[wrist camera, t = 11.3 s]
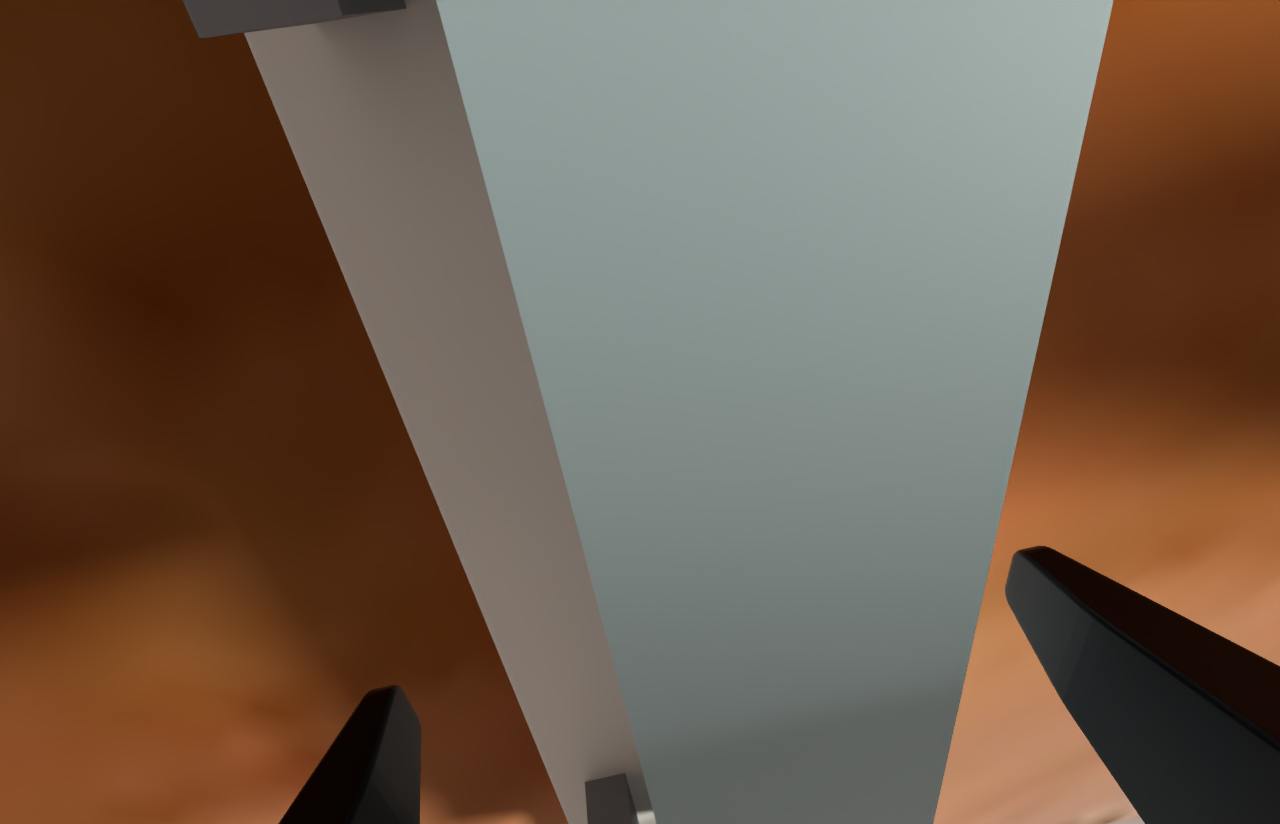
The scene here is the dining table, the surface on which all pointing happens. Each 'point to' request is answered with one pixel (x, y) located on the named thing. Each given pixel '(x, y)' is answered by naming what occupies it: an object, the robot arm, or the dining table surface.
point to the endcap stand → (450, 352)
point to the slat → (783, 354)
